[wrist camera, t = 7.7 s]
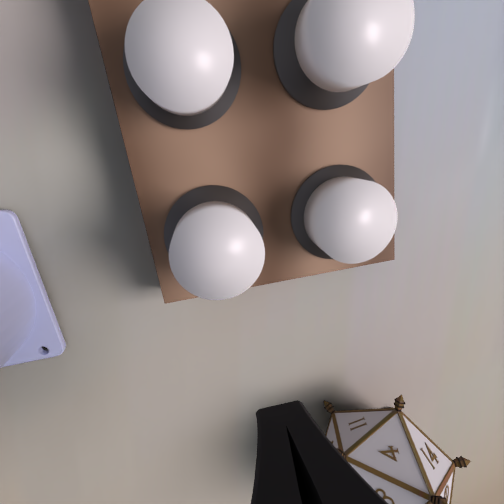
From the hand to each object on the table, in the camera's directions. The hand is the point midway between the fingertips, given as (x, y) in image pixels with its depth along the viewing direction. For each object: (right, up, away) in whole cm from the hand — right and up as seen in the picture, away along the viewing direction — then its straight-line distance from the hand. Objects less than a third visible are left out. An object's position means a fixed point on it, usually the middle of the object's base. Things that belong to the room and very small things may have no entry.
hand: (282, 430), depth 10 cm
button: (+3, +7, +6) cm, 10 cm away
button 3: (+2, +13, +2) cm, 14 cm away
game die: (+6, -6, +13) cm, 16 cm away
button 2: (-2, +6, +4) cm, 7 cm away
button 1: (-4, +13, +3) cm, 13 cm away
